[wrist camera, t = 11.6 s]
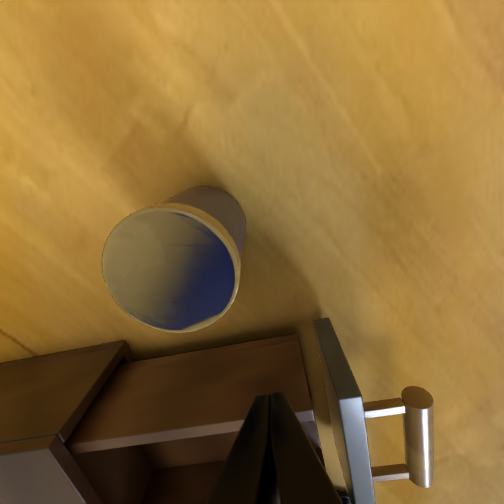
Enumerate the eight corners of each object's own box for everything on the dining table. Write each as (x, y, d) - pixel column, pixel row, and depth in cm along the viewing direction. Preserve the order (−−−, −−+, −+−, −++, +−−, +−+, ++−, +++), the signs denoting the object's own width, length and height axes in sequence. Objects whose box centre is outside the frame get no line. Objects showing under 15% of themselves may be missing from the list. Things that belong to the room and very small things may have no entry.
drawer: (391, 305, 19) (457, 382, 13) (400, 436, 23) (452, 542, 17) (96, 358, 21) (26, 444, 15) (154, 468, 26) (119, 571, 19)
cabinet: (125, 339, 22) (46, 448, 14) (181, 459, 27) (147, 592, 18) (-78, 377, 24) (-252, 491, 16) (8, 481, 29) (-92, 610, 21)
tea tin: (236, 175, 17) (218, 191, 10) (255, 255, 19) (253, 321, 11) (154, 195, 18) (77, 224, 10) (181, 270, 20) (131, 343, 12)
